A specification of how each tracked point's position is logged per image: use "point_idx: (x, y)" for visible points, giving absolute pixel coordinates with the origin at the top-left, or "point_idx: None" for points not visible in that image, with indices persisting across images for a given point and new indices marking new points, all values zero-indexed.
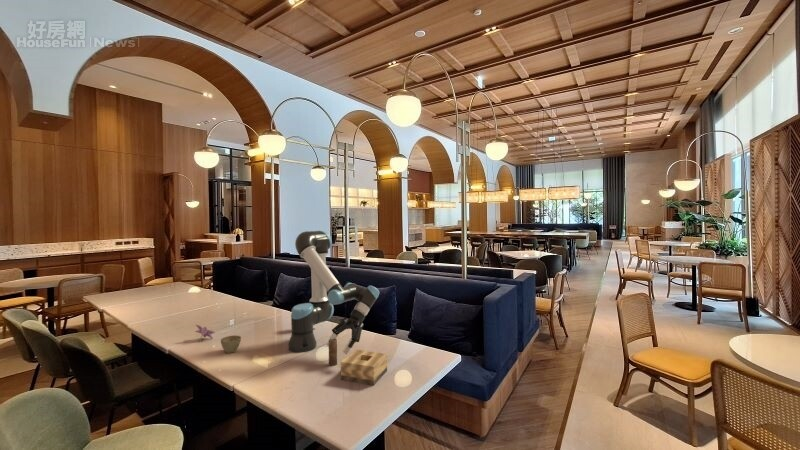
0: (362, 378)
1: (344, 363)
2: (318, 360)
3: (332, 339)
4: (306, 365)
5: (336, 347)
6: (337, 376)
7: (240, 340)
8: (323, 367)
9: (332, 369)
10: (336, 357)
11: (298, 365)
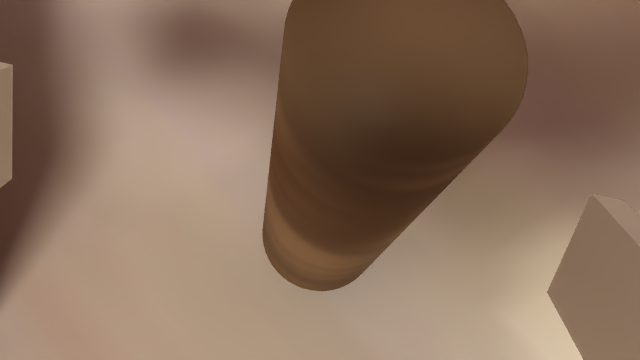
0: None
1: None
2: (571, 222)
3: (448, 70)
4: (555, 51)
5: (278, 157)
6: (25, 10)
7: None
8: None
9: (211, 116)
10: (266, 216)
11: (620, 13)
